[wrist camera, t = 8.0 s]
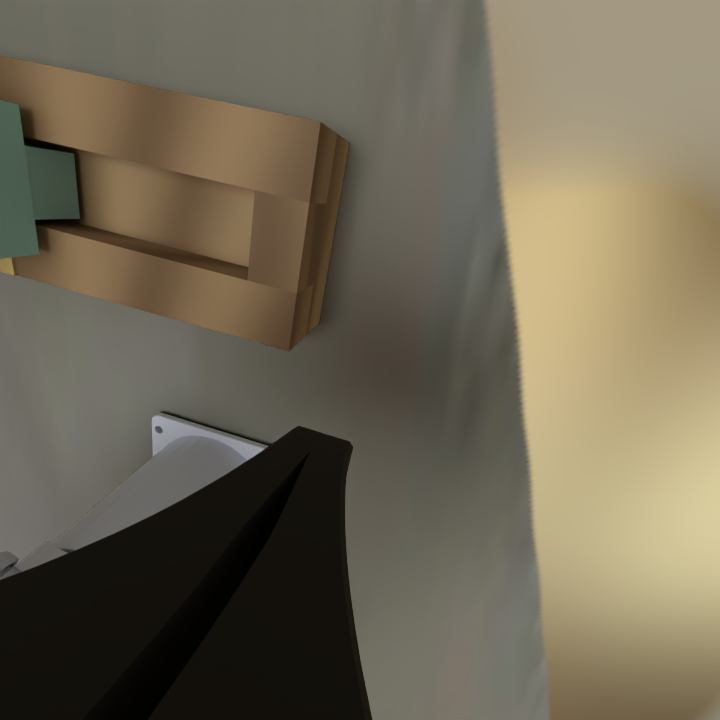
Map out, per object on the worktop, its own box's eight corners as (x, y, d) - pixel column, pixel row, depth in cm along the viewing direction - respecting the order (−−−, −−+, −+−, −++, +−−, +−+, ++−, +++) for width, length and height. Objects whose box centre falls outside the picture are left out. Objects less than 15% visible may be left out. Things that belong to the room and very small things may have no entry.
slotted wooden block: (350, 139, 15) (291, 95, 10) (318, 326, 19) (260, 379, 13) (-128, 38, 18) (-406, -45, 12) (-82, 217, 21) (-283, 220, 15)
